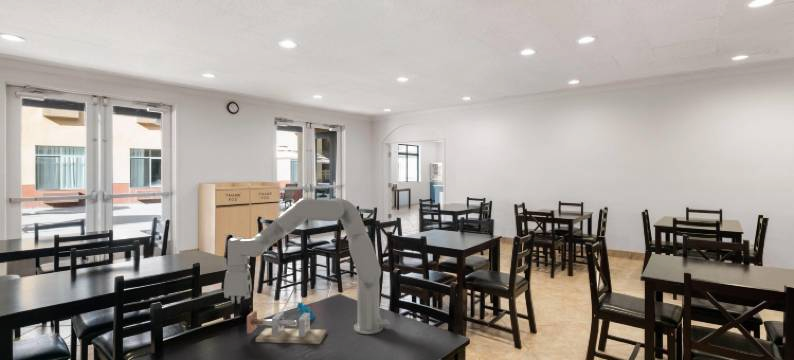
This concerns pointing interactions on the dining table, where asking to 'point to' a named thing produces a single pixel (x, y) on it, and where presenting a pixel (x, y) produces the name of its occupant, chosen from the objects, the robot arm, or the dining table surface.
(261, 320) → the shaft
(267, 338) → the base plate
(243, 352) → the dining table surface
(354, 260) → the robot arm
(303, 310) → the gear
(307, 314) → the bearing blocks
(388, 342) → the dining table surface
